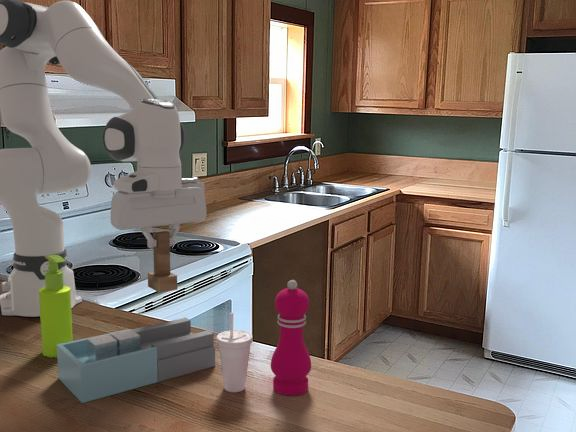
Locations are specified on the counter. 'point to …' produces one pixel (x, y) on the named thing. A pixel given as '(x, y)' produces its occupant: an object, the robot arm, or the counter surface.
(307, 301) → the pepper mill
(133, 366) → the tray
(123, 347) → the grey cube
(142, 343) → the groove board
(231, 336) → the smoothie
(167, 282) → the brown bar
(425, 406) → the counter surface
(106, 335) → the light grey cube
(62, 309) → the soap dispenser
